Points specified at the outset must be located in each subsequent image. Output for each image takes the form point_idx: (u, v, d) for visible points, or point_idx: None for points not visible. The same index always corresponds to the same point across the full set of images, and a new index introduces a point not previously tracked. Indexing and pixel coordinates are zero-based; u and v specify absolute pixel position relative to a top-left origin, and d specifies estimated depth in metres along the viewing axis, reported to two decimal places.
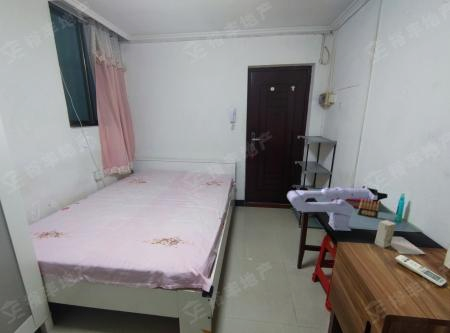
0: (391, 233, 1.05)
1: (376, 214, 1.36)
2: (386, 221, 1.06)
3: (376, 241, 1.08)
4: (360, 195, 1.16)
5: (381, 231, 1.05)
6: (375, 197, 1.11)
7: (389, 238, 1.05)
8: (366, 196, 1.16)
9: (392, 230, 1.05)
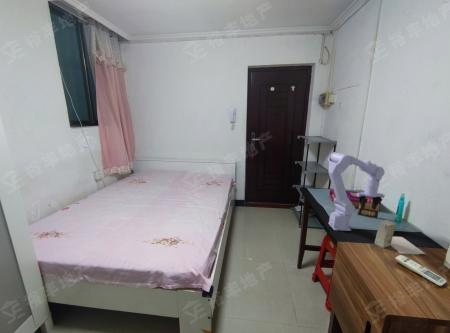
0: (391, 233, 1.05)
1: (376, 214, 1.36)
2: (386, 221, 1.06)
3: (376, 241, 1.08)
4: None
5: (381, 231, 1.05)
6: None
7: (389, 238, 1.05)
8: None
9: (392, 230, 1.05)
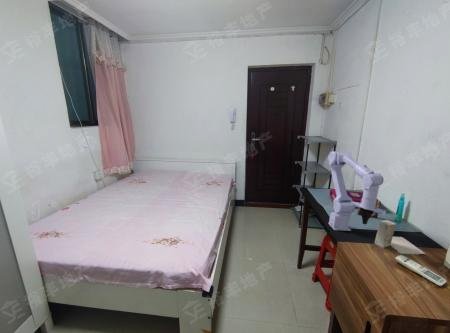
0: (391, 233, 1.05)
1: (376, 214, 1.36)
2: (386, 221, 1.06)
3: (376, 241, 1.08)
4: None
5: (381, 231, 1.05)
6: (385, 212, 1.00)
7: (389, 238, 1.05)
8: (374, 206, 1.02)
9: (392, 230, 1.05)
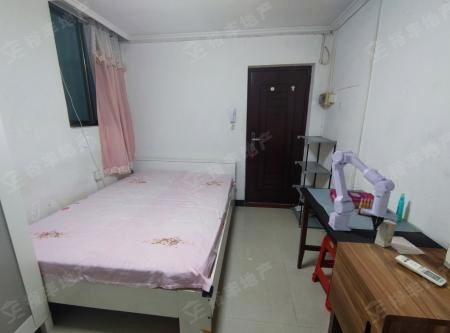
0: (391, 233, 1.05)
1: None
2: (387, 221, 1.06)
3: (376, 240, 1.07)
4: (387, 206, 1.01)
5: (381, 230, 1.05)
6: (396, 218, 1.00)
7: (389, 238, 1.05)
8: (385, 213, 1.02)
9: (393, 230, 1.05)
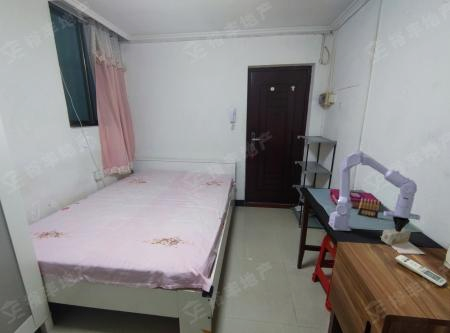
0: (401, 240, 1.08)
1: (376, 214, 1.36)
2: None
3: (387, 230, 1.09)
4: None
5: None
6: None
7: (397, 238, 1.07)
8: None
9: (403, 240, 1.08)
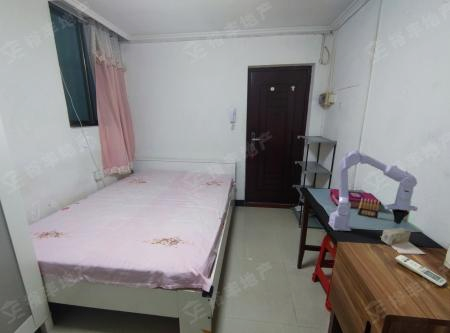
0: (401, 240, 1.08)
1: (376, 214, 1.36)
2: None
3: (387, 230, 1.09)
4: None
5: (399, 230, 1.09)
6: None
7: (397, 238, 1.07)
8: None
9: (403, 240, 1.08)
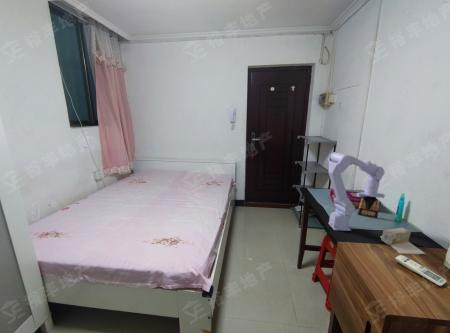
0: (401, 240, 1.08)
1: (376, 214, 1.36)
2: None
3: (387, 230, 1.09)
4: None
5: (399, 230, 1.09)
6: None
7: (397, 238, 1.07)
8: None
9: (403, 240, 1.08)
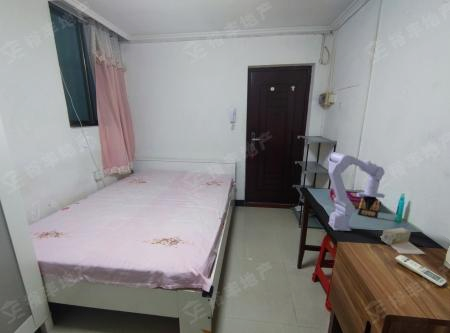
0: (401, 240, 1.08)
1: (376, 214, 1.36)
2: None
3: (387, 230, 1.09)
4: None
5: (399, 230, 1.09)
6: None
7: (397, 238, 1.07)
8: None
9: (403, 240, 1.08)
